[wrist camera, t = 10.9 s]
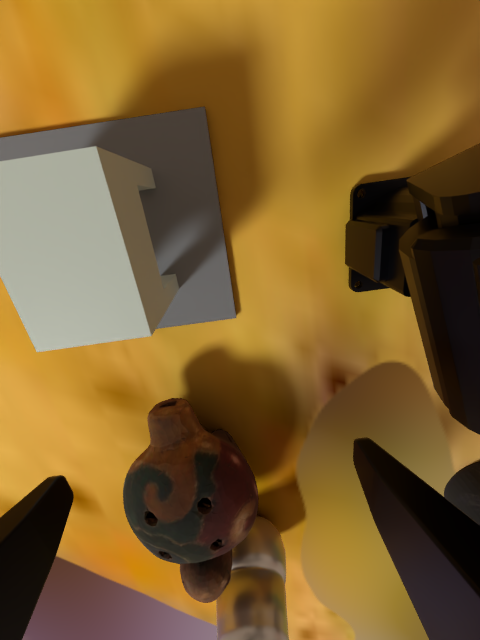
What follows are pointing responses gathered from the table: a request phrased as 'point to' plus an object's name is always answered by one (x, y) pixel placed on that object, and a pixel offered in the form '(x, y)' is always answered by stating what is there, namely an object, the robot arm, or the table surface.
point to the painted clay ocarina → (191, 498)
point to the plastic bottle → (255, 588)
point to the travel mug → (466, 491)
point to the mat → (163, 200)
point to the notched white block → (80, 248)
